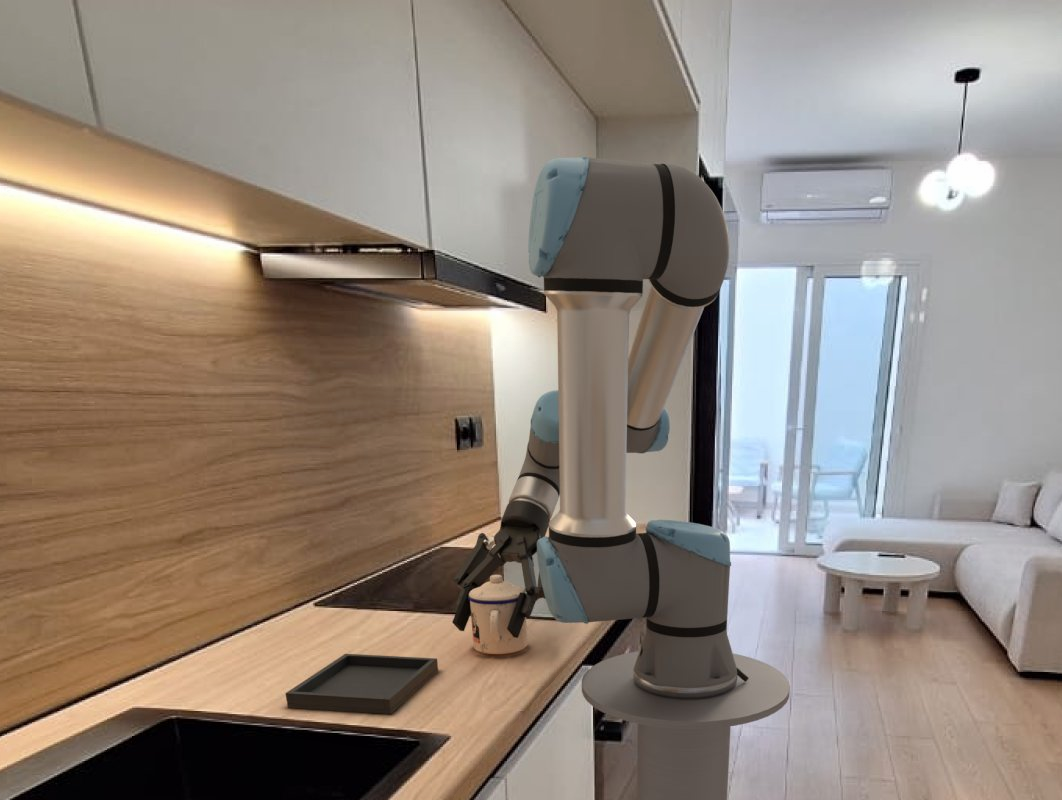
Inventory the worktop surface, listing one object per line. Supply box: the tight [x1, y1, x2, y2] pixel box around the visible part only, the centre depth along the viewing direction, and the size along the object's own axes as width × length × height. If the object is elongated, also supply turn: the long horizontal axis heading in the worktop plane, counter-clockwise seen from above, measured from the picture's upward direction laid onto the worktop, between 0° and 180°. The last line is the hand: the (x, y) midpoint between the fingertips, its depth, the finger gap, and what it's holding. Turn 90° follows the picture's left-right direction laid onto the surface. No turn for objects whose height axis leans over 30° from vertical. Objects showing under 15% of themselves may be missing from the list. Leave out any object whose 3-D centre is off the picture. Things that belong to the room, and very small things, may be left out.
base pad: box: [285, 653, 439, 715], centre depth 114 cm, size 15×17×2 cm
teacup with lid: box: [468, 574, 528, 655], centre depth 127 cm, size 12×9×12 cm
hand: (484, 629), depth 126 cm, fingers closed on teacup with lid, 9 cm apart
